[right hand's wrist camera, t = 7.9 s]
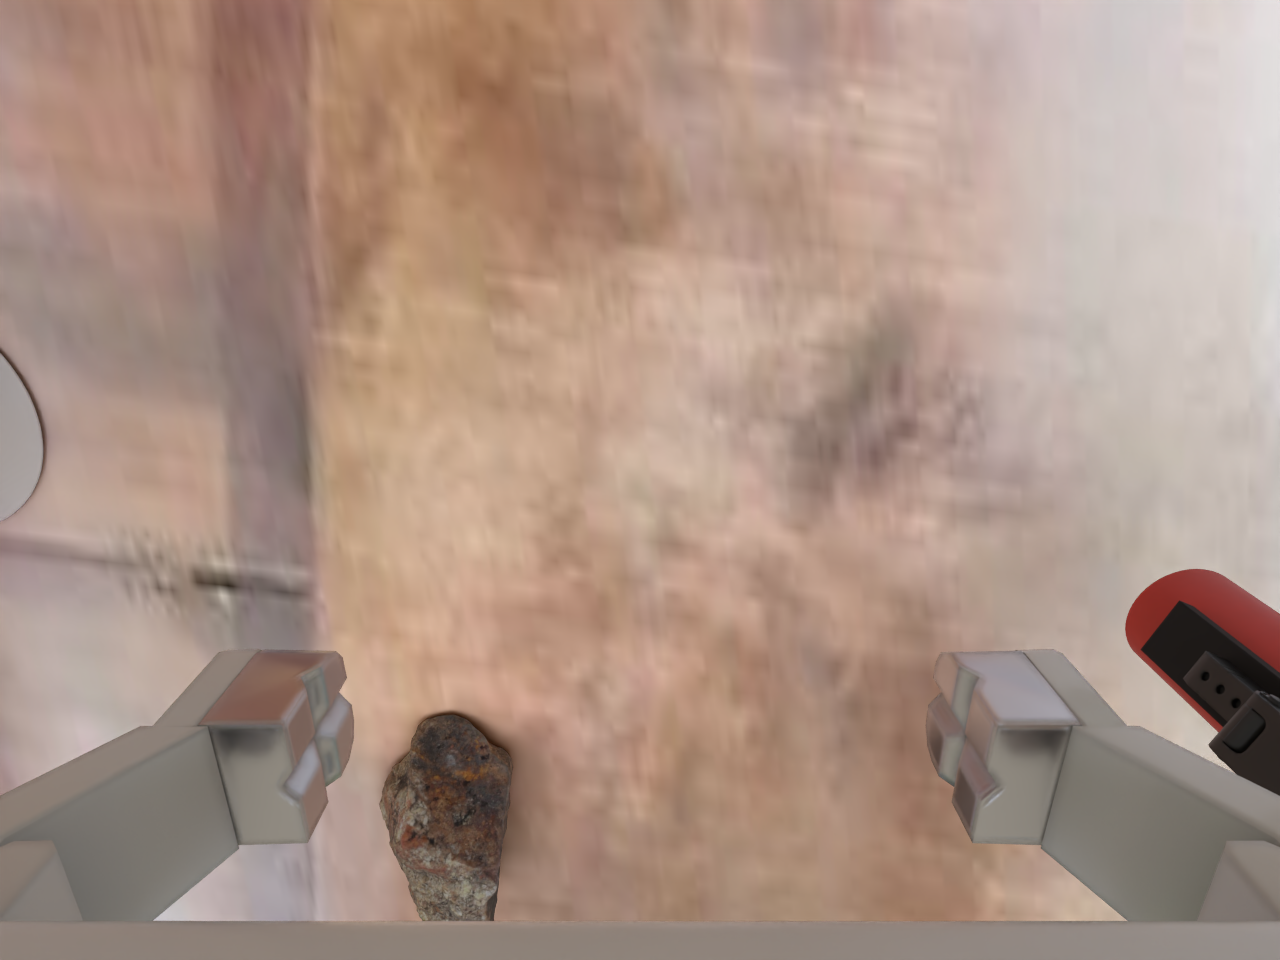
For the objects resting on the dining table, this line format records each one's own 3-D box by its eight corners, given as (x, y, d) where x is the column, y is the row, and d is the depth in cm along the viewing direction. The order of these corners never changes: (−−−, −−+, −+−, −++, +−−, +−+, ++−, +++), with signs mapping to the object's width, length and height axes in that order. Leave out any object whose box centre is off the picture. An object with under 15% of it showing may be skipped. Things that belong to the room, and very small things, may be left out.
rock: (553, 729, 53) (411, 692, 52) (541, 819, 45) (372, 778, 43) (498, 888, 57) (366, 857, 56) (478, 998, 49) (322, 964, 47)
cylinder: (1255, 626, 36) (1484, 793, 26) (1150, 681, 37) (1333, 860, 27) (1213, 547, 35) (1440, 693, 25) (1106, 607, 36) (1282, 769, 26)
